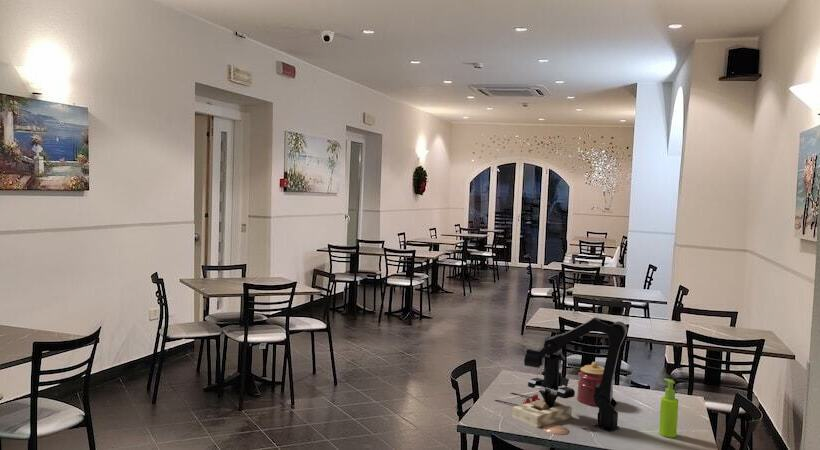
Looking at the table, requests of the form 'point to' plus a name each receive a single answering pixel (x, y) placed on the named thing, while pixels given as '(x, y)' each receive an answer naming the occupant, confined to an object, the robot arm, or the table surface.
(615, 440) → the table surface
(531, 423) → the cream wooden tray
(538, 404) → the walnut slab
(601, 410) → the robot arm
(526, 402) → the glasses
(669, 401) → the soap dispenser
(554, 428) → the terracotta coaster
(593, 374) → the canister
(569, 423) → the table surface
